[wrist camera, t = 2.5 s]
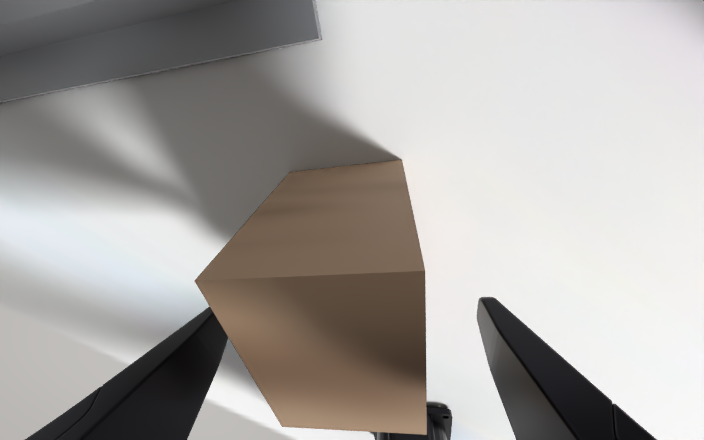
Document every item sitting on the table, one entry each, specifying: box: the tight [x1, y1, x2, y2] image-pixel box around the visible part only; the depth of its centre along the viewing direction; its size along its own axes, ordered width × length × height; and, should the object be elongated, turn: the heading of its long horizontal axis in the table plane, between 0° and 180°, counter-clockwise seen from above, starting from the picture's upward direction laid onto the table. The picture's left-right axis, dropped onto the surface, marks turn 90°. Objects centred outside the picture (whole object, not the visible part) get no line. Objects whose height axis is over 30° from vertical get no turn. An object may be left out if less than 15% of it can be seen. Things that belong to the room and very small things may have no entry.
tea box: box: [195, 160, 427, 435], centre depth 10 cm, size 7×5×7 cm
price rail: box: [0, 0, 322, 103], centre depth 8 cm, size 16×3×3 cm, turn 99°
